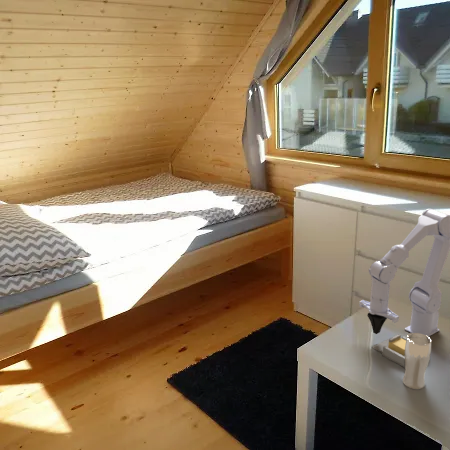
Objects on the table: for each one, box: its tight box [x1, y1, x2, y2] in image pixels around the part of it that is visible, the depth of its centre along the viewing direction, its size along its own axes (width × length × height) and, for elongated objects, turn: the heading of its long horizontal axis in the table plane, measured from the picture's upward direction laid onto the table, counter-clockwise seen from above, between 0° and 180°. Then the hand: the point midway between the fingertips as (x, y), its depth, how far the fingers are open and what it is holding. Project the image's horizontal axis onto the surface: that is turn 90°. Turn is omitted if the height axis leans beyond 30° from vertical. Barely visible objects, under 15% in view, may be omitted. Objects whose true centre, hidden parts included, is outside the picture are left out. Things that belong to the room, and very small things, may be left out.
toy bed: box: [388, 333, 406, 356], centre depth 151 cm, size 8×5×4 cm, turn 34°
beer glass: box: [402, 332, 432, 390], centre depth 136 cm, size 7×7×15 cm
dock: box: [371, 335, 407, 369], centre depth 153 cm, size 14×11×4 cm
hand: (376, 332), depth 159 cm, fingers closed
